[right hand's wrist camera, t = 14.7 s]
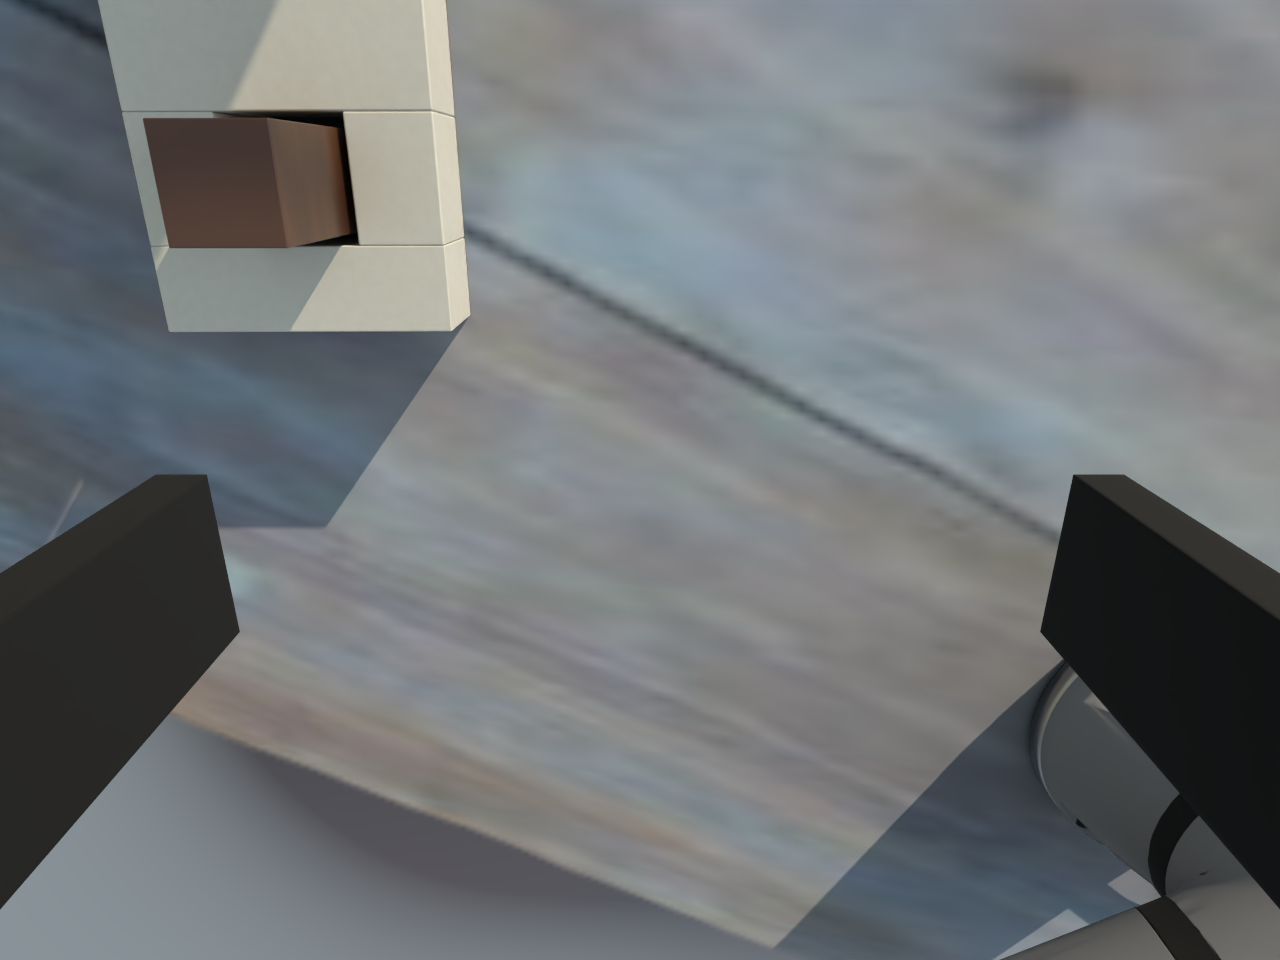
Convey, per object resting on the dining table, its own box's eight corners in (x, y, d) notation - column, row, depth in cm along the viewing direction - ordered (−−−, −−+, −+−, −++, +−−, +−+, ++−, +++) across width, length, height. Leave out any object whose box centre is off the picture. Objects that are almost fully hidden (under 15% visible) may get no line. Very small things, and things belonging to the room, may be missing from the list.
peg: (378, 227, 36) (287, 248, 27) (289, 228, 36) (168, 248, 27) (367, 131, 35) (267, 117, 25) (275, 131, 35) (141, 117, 25)
